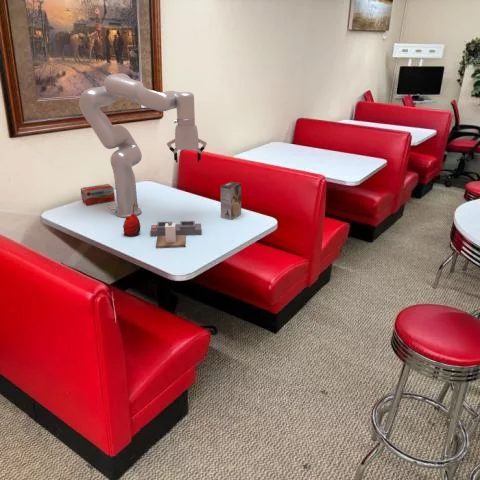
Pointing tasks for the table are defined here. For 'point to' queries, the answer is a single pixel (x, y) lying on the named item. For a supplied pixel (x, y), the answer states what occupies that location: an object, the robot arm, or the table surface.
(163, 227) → the power strip
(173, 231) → the plug
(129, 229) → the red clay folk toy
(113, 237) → the table surface
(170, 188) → the table surface
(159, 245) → the walnut mat
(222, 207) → the coffee box
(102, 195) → the medicine box
